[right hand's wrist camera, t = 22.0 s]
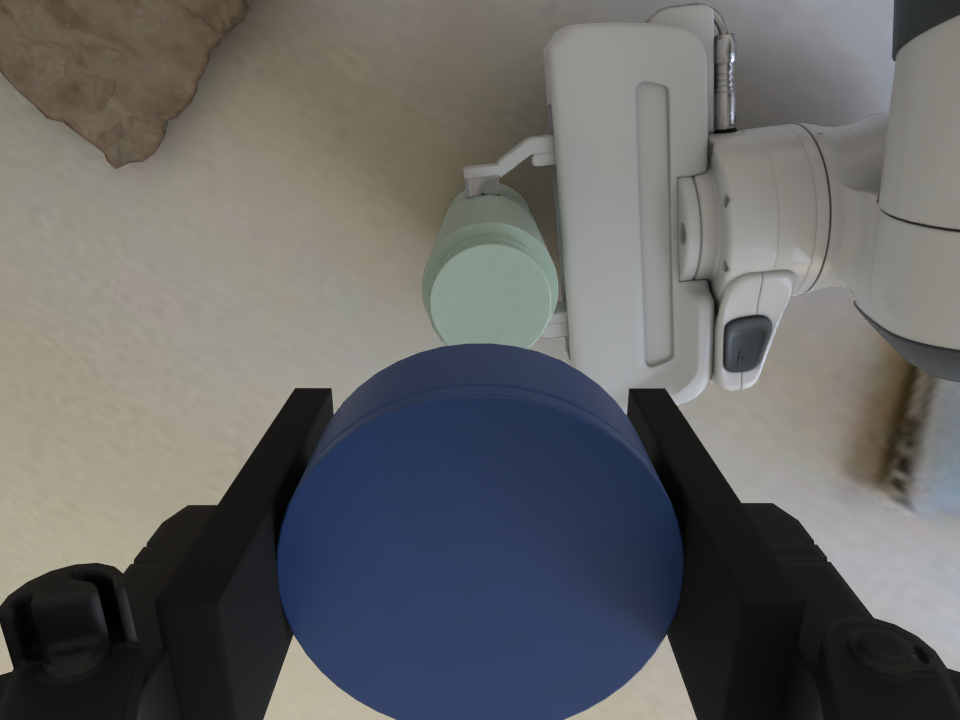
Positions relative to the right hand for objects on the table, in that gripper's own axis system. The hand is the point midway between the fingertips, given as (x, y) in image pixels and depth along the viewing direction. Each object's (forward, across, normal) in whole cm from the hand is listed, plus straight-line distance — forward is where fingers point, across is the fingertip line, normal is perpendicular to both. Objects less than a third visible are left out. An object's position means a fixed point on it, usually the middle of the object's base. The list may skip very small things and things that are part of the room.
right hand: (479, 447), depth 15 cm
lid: (-4, 0, 0) cm, 4 cm away
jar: (+29, 0, 0) cm, 29 cm away
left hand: (+23, 0, 0) cm, 23 cm away
